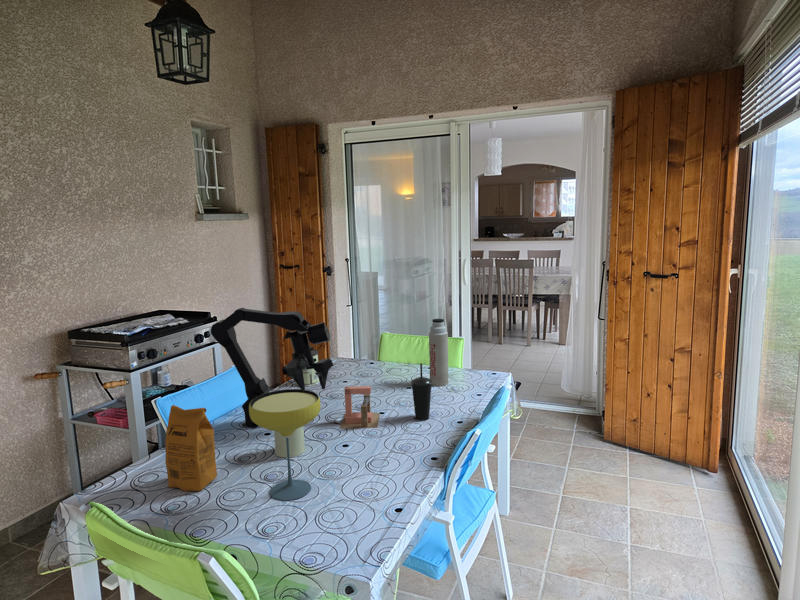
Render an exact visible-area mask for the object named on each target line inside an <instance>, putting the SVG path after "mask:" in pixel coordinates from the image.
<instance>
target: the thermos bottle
mask: <svg viewBox="0 0 800 600" xmlns="http://www.w3.org/2000/svg"><path fill="white" fill-rule="evenodd" d="M431 322H432V323H431V324H432V325H431V326H429V332H428V348H429V349H428V353H429V355H428V356H429V379H431V380H432V385H431V386H433V387H444V386H448V385H449V335H448V333H449V332H448V331H447V327H446V326H445V323H444V322H445V320H444V319H443V318H434V319H432V321H431Z"/></svg>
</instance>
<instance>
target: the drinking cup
mask: <svg viewBox="0 0 800 600" xmlns="http://www.w3.org/2000/svg"><path fill="white" fill-rule="evenodd" d="M419 366H420V370H419V373H420V377H415V378H413V379H411V380H410V384H411V390H412V399H413V406H414V414H415V416H414V417H415V420H418V421H427V420H429V419H430V411H431V396H432V386H433V385H432V380H431V379H430V378H428V377H426V376H423V363H419Z"/></svg>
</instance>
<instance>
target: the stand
mask: <svg viewBox="0 0 800 600" xmlns="http://www.w3.org/2000/svg"><path fill="white" fill-rule="evenodd" d="M360 412H361V423H345V417H346V412H345V413H344V415H343V417H342V420H341V423H340V425H339V427H338V428H339V430H340V429H378V428H379V427H378V426H379V424H380V423H379V422H380V416H381V412H372V422H371V423H368V414H367V412H371V394H363V402H362V404H361V405H360Z"/></svg>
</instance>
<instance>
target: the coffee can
mask: <svg viewBox="0 0 800 600" xmlns="http://www.w3.org/2000/svg"><path fill="white" fill-rule="evenodd" d="M311 352H312V355H313V358H316V360H317V361H316V362H318V361H319V351H318V350H317V349H314V348H313V350H312V351H311ZM316 362H314V363H316ZM309 367H310V366H309ZM315 373H316V371H315V370H314V369H305V370H303V377H304V384H305V387H312V386H317V385H319V383H320V381H319V378H318V376H317V375H316V374H315ZM295 383H296V382H295ZM316 384H317V385H316ZM296 386H298V384H297V383H296Z"/></svg>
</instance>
